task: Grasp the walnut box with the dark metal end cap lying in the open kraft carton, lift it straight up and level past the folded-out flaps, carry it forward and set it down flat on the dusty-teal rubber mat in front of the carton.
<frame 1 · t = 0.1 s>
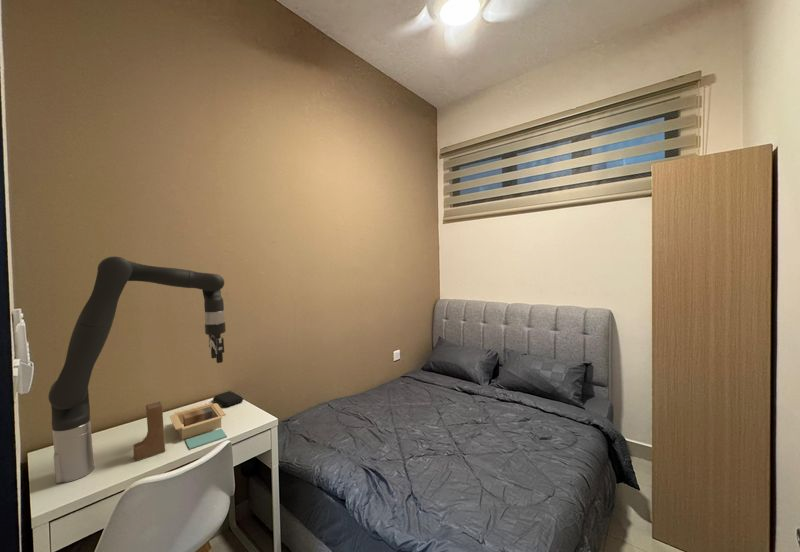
hand: (217, 360, 144), 29 cm above the table, fingers open, 8 cm apart
wooden block: (149, 454, 127), on the table
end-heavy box: (198, 419, 147), in the carton
carrying case or bag: (227, 402, 172), on the table
mat: (206, 439, 137), on the table
carton: (198, 426, 147), on the table
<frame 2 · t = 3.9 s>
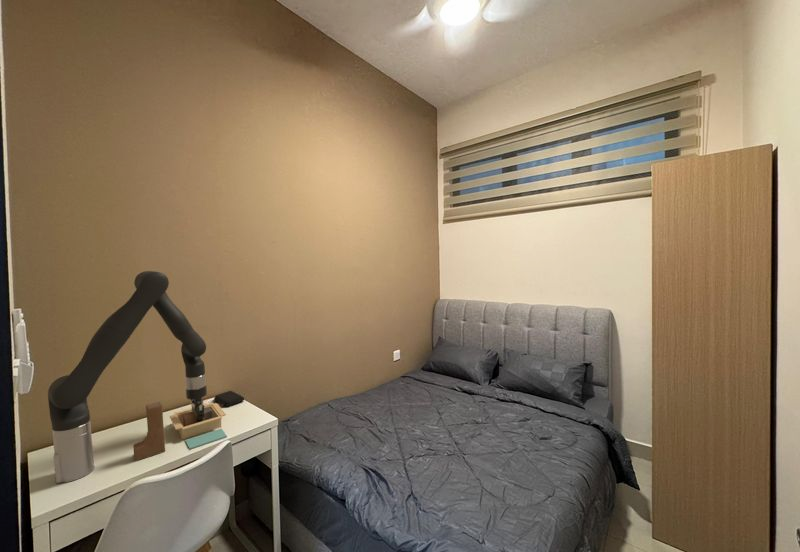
hand: (198, 424, 147), 1 cm above the table, fingers closed on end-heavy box, 5 cm apart
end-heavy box: (198, 419, 147), in the carton, touching gripper
everything else where it was.
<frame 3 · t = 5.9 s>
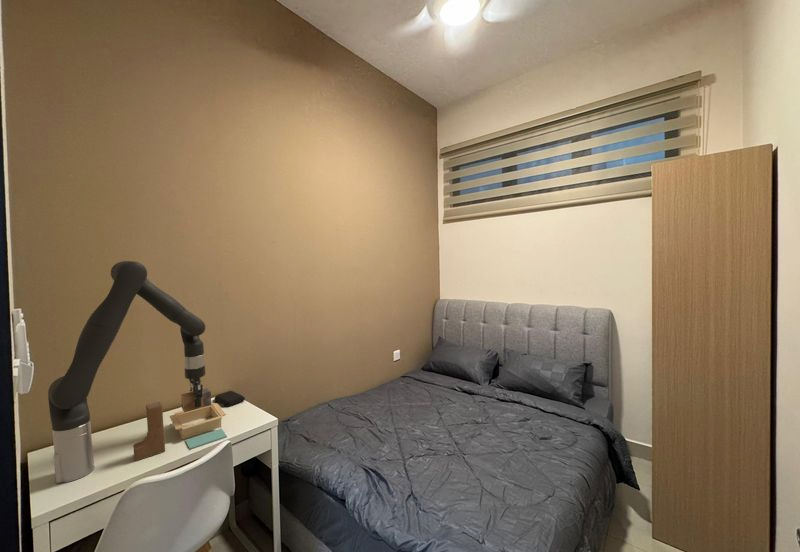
hand: (196, 404, 147), 10 cm above the table, fingers closed on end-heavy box, 5 cm apart
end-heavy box: (196, 399, 147), point 12 cm above the table, touching gripper
everything else where it was.
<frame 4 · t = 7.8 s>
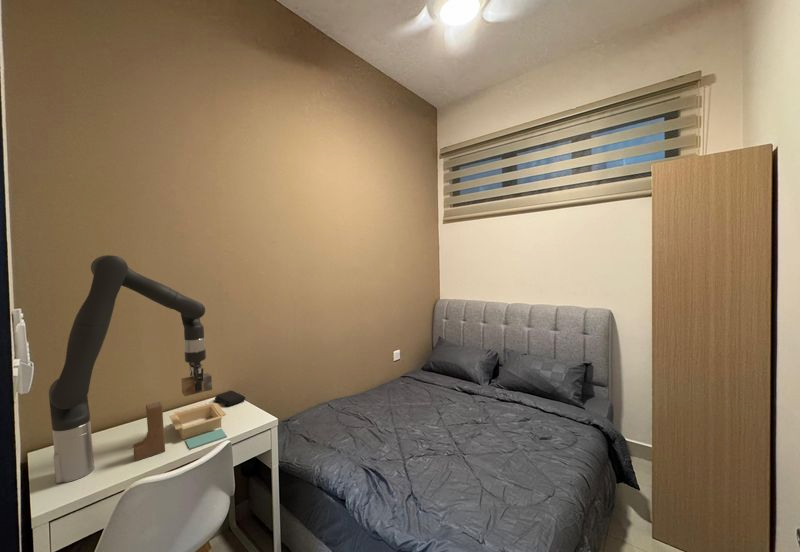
hand: (197, 389, 144), 17 cm above the table, fingers closed on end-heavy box, 5 cm apart
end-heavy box: (196, 384, 144), point 19 cm above the table, touching gripper
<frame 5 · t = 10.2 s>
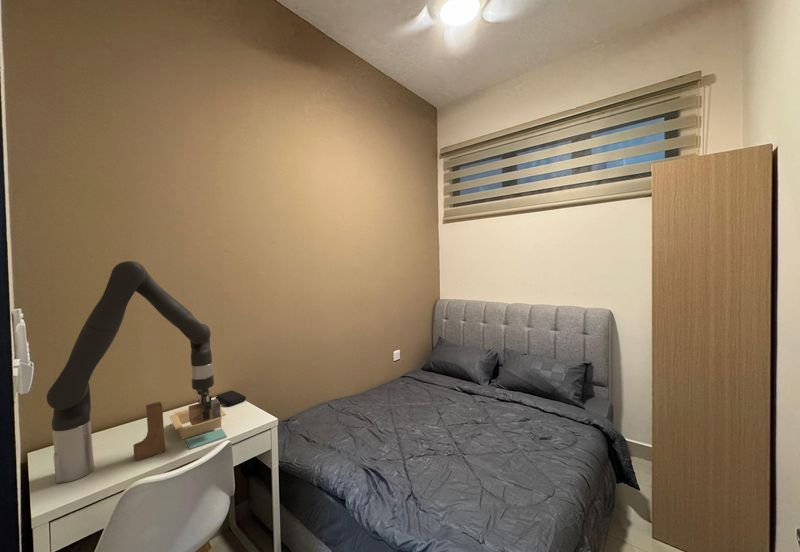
hand: (205, 416, 136), 9 cm above the table, fingers closed on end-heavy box, 5 cm apart
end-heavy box: (204, 411, 136), point 11 cm above the table, touching gripper
when the fingers open (3 cm above the table, at t = 12.2 s): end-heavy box drops 1 cm, resting on mat.
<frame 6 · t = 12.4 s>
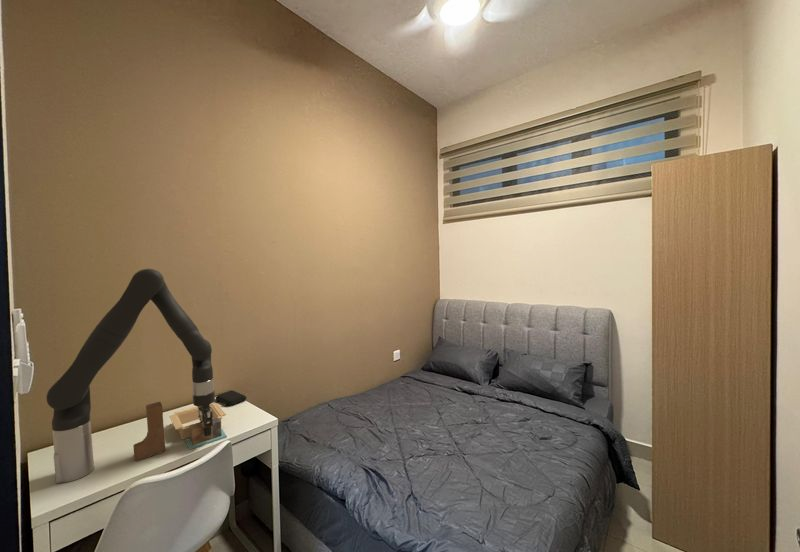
hand: (206, 432, 136), 3 cm above the table, fingers open, 6 cm apart
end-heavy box: (205, 430, 137), on the mat
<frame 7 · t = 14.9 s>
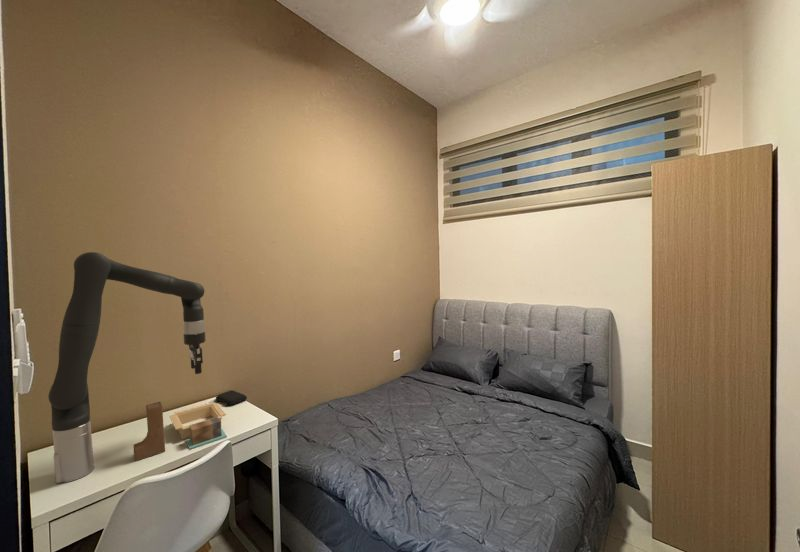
hand: (196, 370, 140), 26 cm above the table, fingers open, 8 cm apart
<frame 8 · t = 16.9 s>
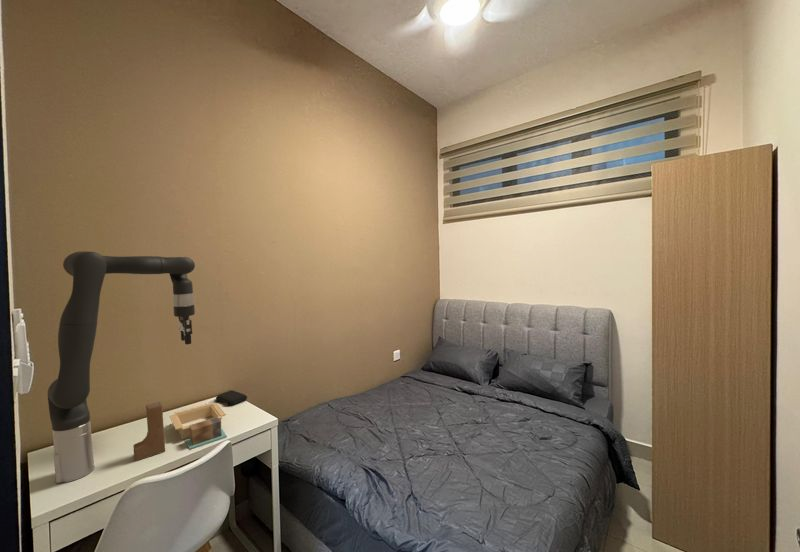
hand: (186, 342, 147), 36 cm above the table, fingers open, 8 cm apart
at the end: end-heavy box 0.1 cm off-centre on the mat, point 3.5 cm above the mat's base; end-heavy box tilted 0°; the gripper is holding nothing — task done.
